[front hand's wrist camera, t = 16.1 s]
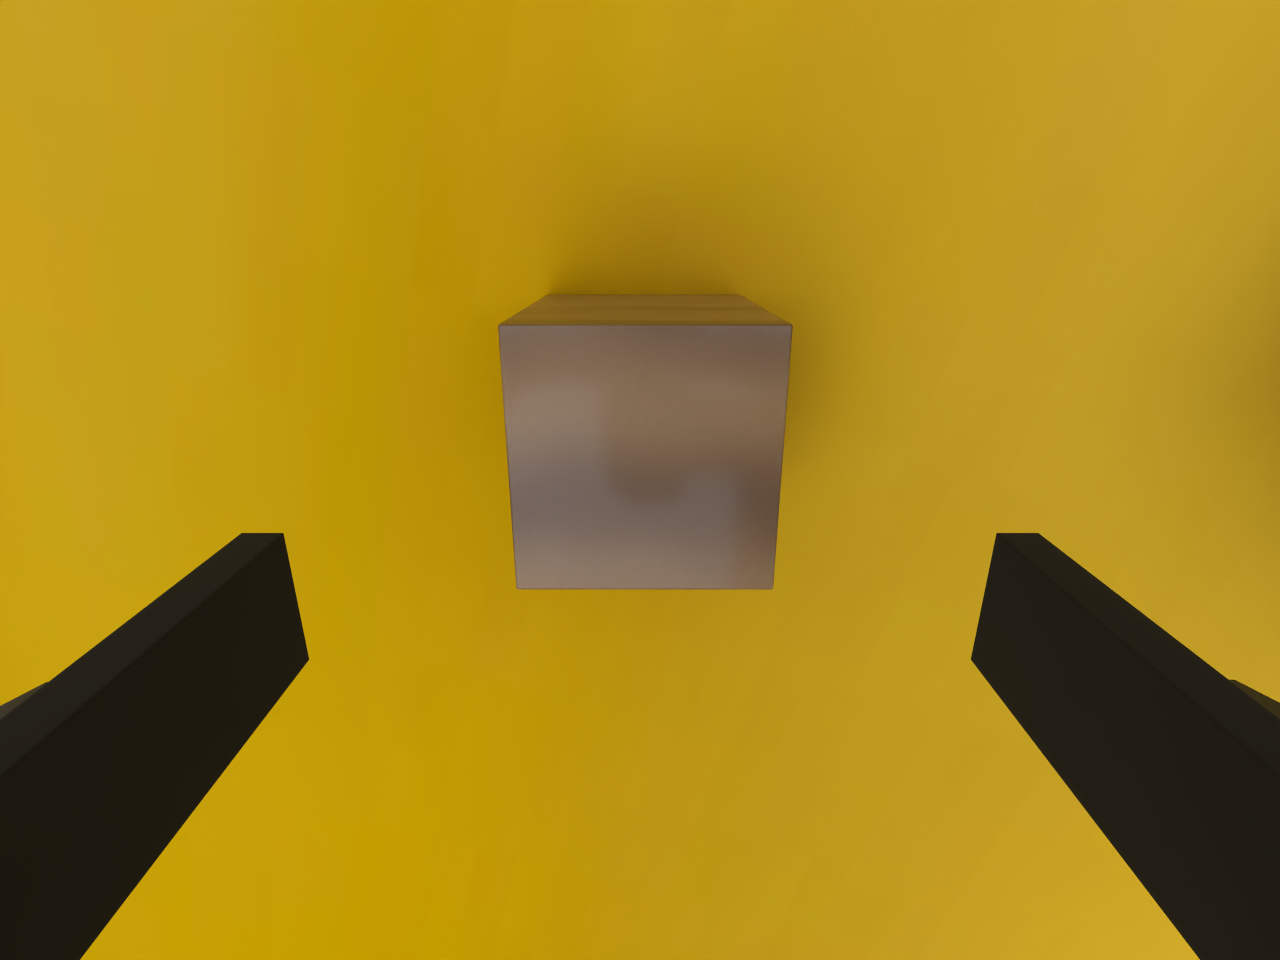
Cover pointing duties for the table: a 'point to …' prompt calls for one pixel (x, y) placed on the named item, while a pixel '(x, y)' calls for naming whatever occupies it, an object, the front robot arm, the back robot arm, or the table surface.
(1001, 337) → the table surface
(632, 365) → the block
